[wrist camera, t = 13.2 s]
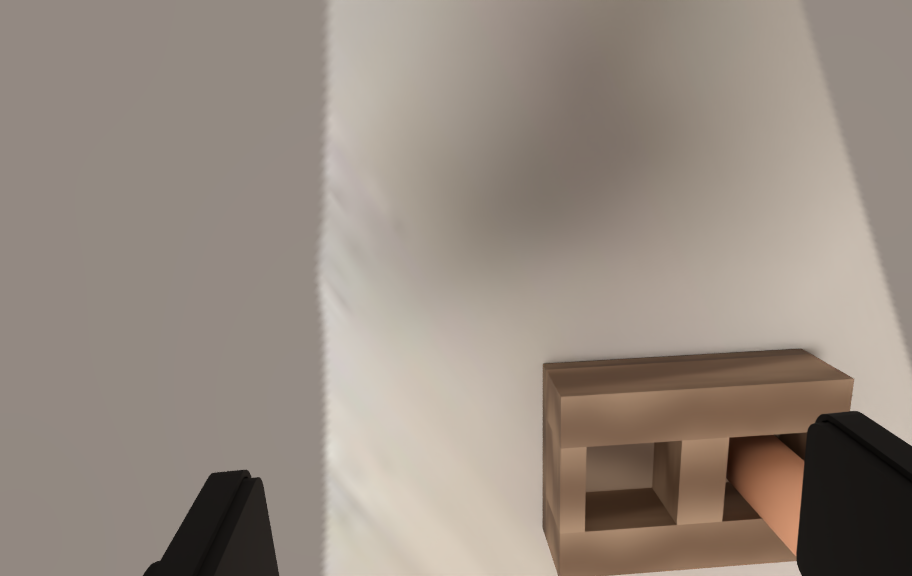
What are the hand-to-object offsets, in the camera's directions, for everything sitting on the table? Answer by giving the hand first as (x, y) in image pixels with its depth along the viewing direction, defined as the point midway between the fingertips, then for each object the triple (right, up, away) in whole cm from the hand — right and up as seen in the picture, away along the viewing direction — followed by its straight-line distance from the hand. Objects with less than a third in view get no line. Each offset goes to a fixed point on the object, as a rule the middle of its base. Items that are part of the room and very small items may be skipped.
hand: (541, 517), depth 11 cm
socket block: (+13, -6, +31) cm, 34 cm away
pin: (+17, -6, +30) cm, 35 cm away
